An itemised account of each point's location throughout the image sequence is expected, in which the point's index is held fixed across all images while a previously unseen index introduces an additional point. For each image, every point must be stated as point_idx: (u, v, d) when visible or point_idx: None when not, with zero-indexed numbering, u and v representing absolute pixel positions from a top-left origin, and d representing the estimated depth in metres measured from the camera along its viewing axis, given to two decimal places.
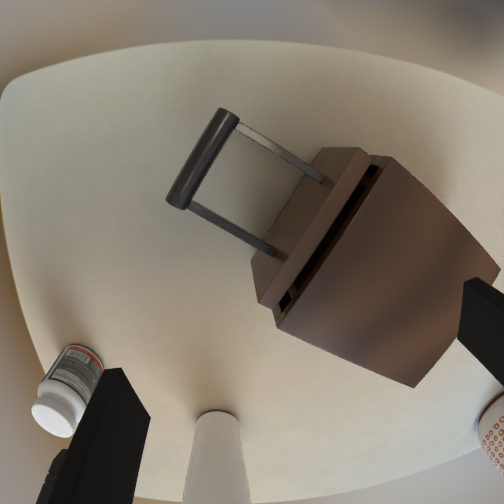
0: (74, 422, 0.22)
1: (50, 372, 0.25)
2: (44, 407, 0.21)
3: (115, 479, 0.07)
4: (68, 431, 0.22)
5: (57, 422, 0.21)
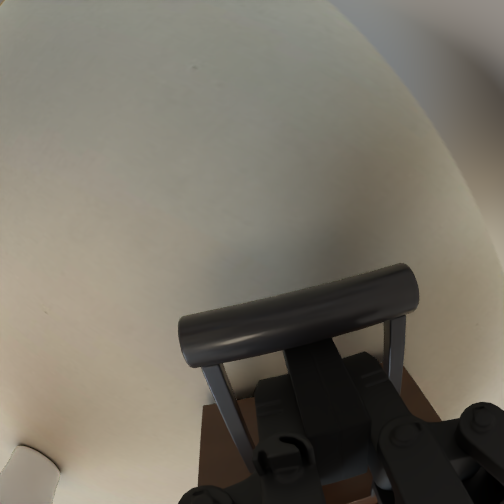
0: None
1: None
2: None
3: None
4: None
5: None
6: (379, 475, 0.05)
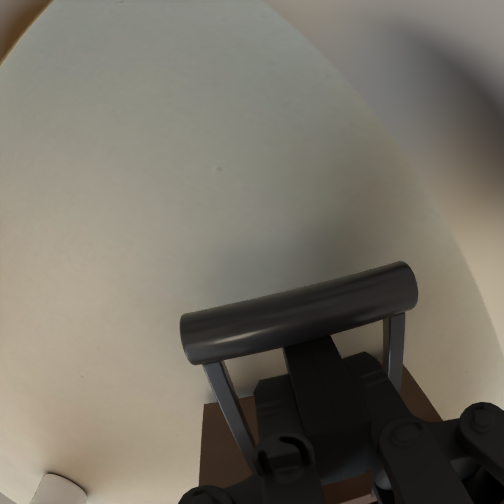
0: None
1: None
2: None
3: None
4: None
5: None
6: (379, 475, 0.05)
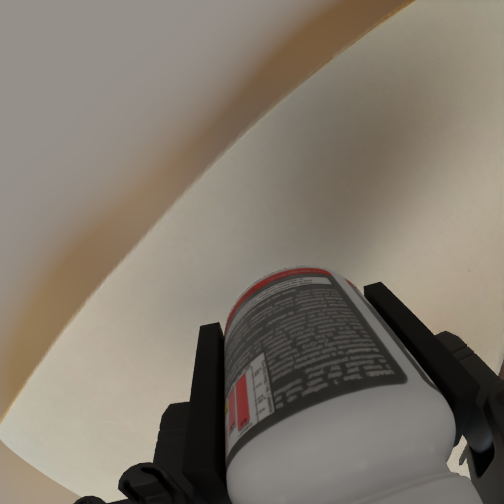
0: None
1: (395, 350, 0.06)
2: None
3: None
4: None
5: None
6: (478, 436, 0.05)
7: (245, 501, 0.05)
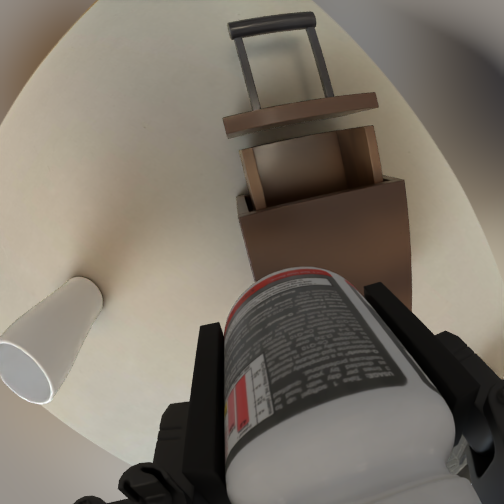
0: None
1: (395, 352, 0.06)
2: None
3: None
4: None
5: None
6: (478, 436, 0.05)
7: (244, 502, 0.05)
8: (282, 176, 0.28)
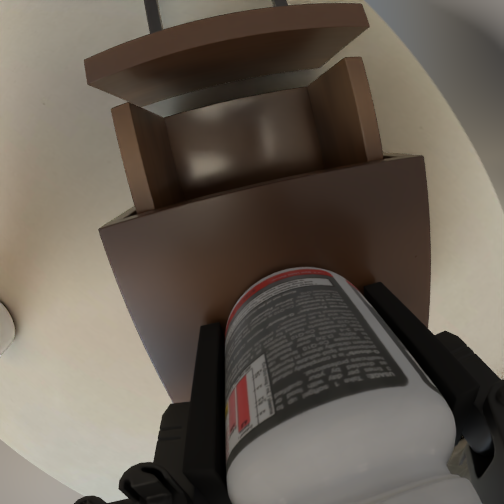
0: None
1: (396, 352, 0.06)
2: None
3: None
4: None
5: None
6: (478, 436, 0.05)
7: (245, 503, 0.05)
8: (218, 158, 0.17)
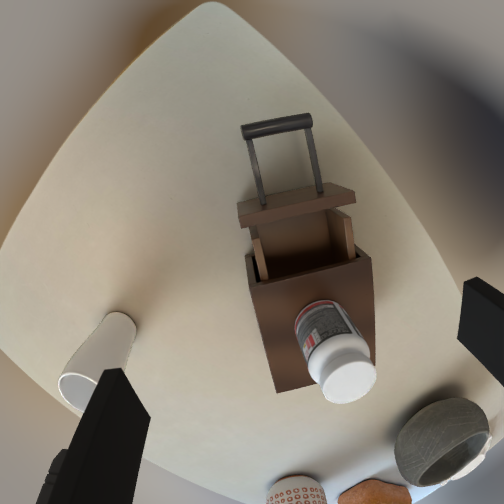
0: None
1: (351, 327, 0.26)
2: (371, 369, 0.22)
3: (115, 479, 0.07)
4: (352, 398, 0.23)
5: (357, 386, 0.23)
6: None
7: (315, 364, 0.24)
8: (281, 243, 0.37)
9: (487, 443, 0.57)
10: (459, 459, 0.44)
